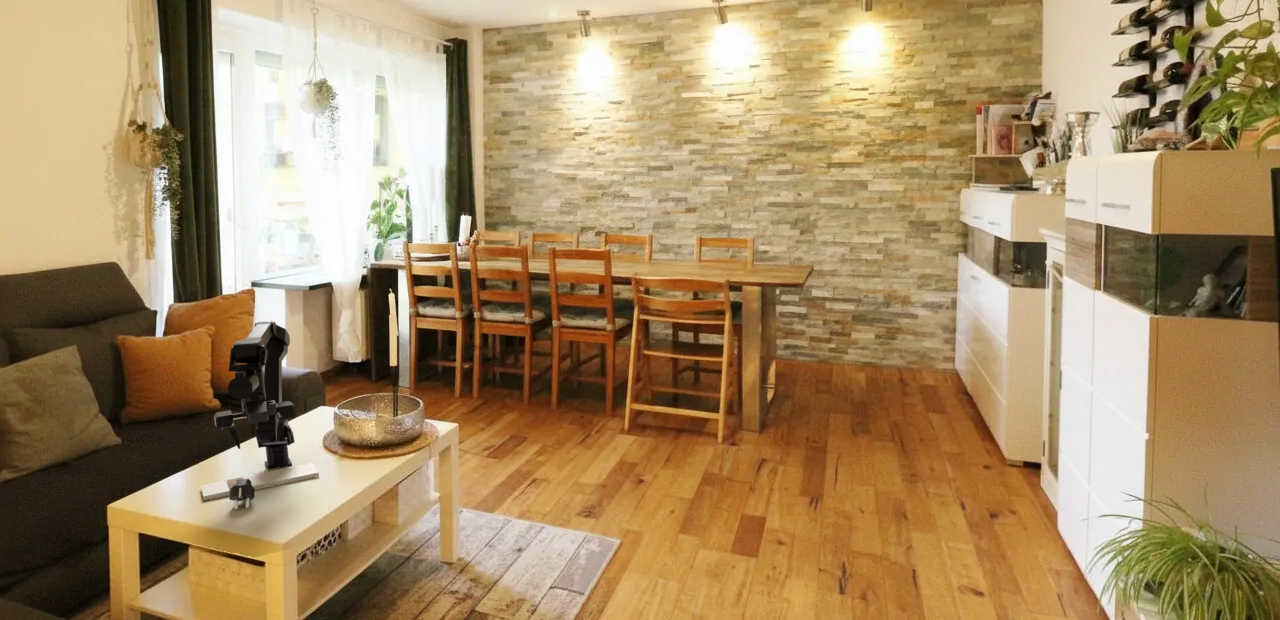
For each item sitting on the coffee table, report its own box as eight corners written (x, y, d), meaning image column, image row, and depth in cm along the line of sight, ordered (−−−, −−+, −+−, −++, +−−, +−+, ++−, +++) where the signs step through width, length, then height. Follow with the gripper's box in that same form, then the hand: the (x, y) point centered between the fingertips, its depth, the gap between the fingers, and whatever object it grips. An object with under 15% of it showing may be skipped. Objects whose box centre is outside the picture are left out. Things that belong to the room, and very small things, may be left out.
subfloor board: (201, 489, 205) (201, 485, 205) (313, 467, 220) (312, 462, 220) (203, 500, 198) (203, 496, 198) (318, 476, 213) (318, 472, 213)
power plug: (263, 486, 205) (252, 475, 195) (262, 514, 202) (251, 505, 192) (240, 488, 204) (227, 477, 193) (238, 517, 201) (226, 508, 190)
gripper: (214, 402, 190) (221, 461, 192) (296, 389, 200) (301, 446, 202) (211, 391, 199) (217, 448, 202) (289, 380, 209) (294, 435, 212)
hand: (258, 445), depth 204 cm, fingers open, 9 cm apart
